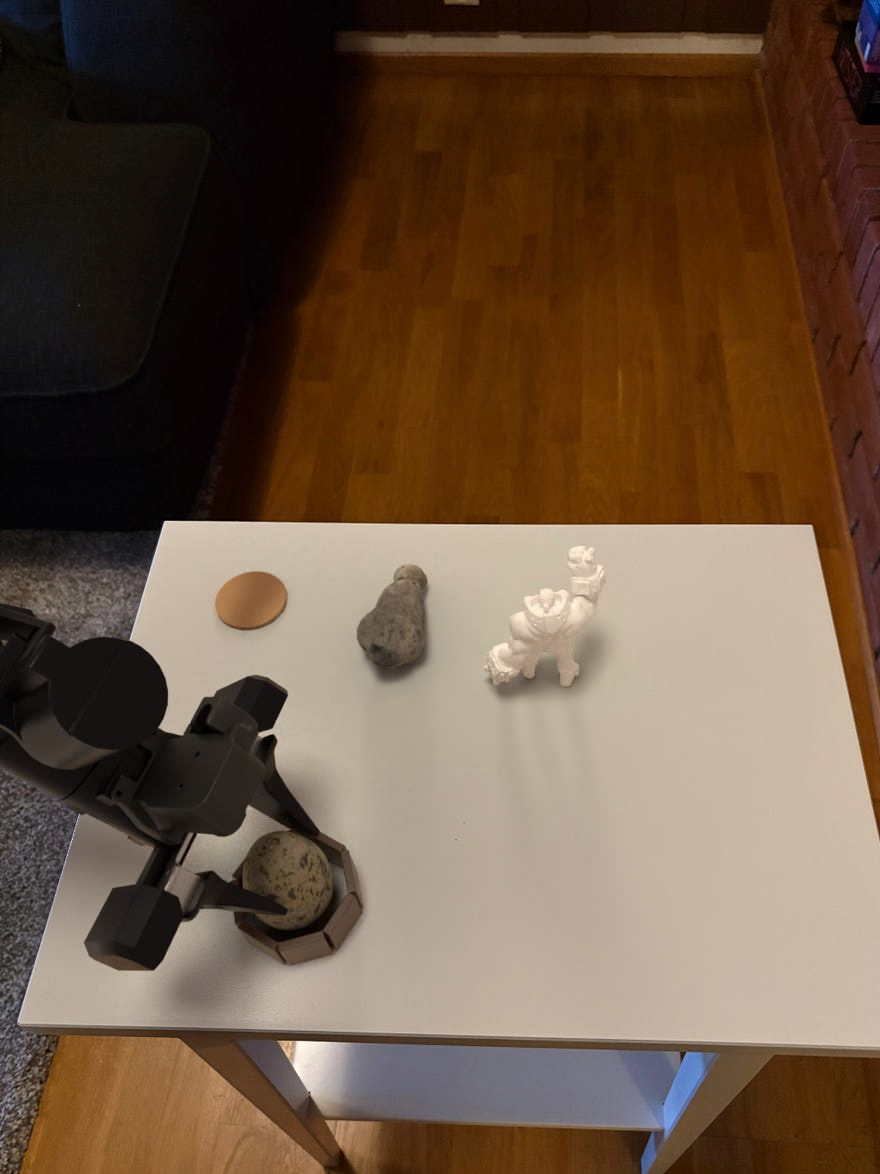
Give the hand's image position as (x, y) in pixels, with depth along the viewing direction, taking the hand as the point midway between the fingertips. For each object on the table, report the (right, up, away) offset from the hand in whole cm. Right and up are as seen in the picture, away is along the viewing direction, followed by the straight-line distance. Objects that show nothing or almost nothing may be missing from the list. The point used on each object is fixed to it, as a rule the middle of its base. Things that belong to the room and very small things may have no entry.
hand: (300, 873), depth 59 cm
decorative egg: (-1, -4, +6) cm, 7 cm away
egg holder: (-1, -4, +6) cm, 7 cm away
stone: (+5, +16, +20) cm, 26 cm away
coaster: (-9, +19, +22) cm, 30 cm away
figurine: (+17, +13, +17) cm, 27 cm away
